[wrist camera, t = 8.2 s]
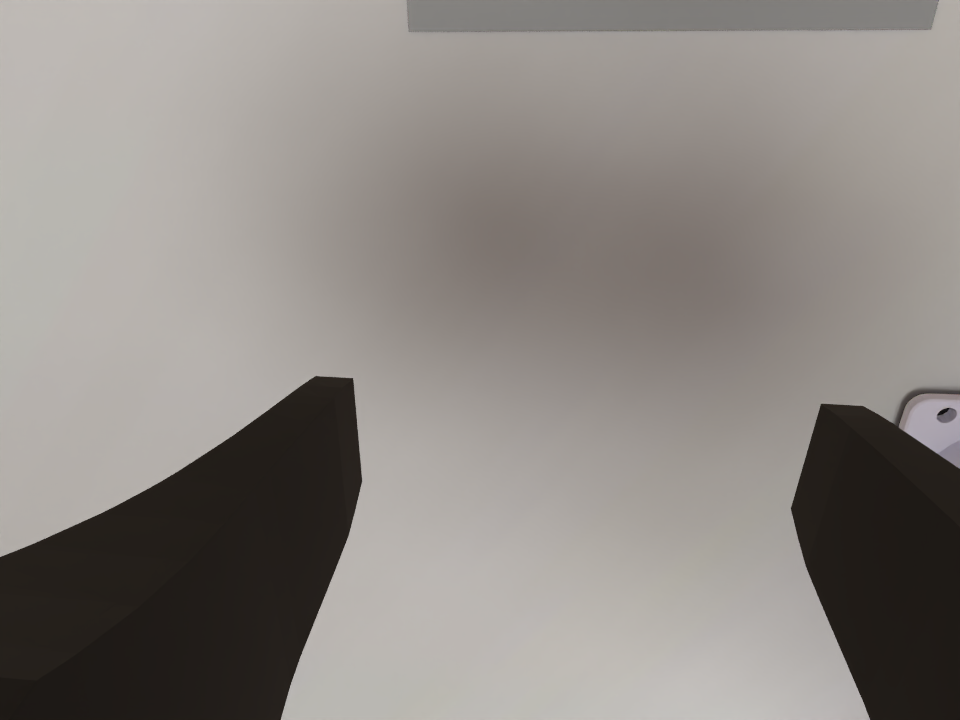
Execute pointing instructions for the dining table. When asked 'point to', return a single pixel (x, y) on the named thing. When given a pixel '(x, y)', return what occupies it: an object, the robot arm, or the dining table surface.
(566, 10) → the pad
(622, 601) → the dining table surface
